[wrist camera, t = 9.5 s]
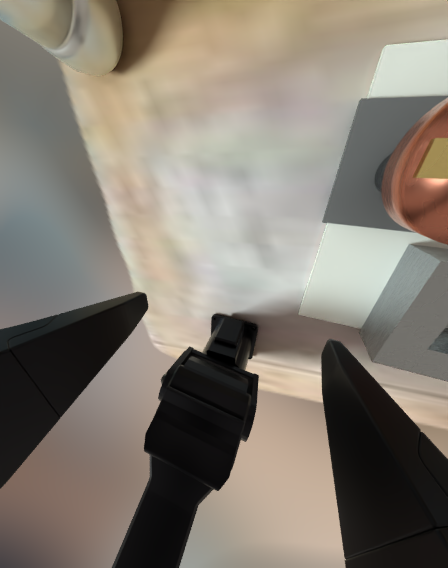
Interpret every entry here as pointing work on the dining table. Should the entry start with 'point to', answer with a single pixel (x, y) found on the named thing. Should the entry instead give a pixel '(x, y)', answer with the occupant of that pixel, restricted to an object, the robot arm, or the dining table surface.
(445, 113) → the copper disc with stripe
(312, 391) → the dining table surface
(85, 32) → the plastic bottle
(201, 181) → the dining table surface
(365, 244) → the board
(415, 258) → the metal block
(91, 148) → the dining table surface
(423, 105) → the pad
